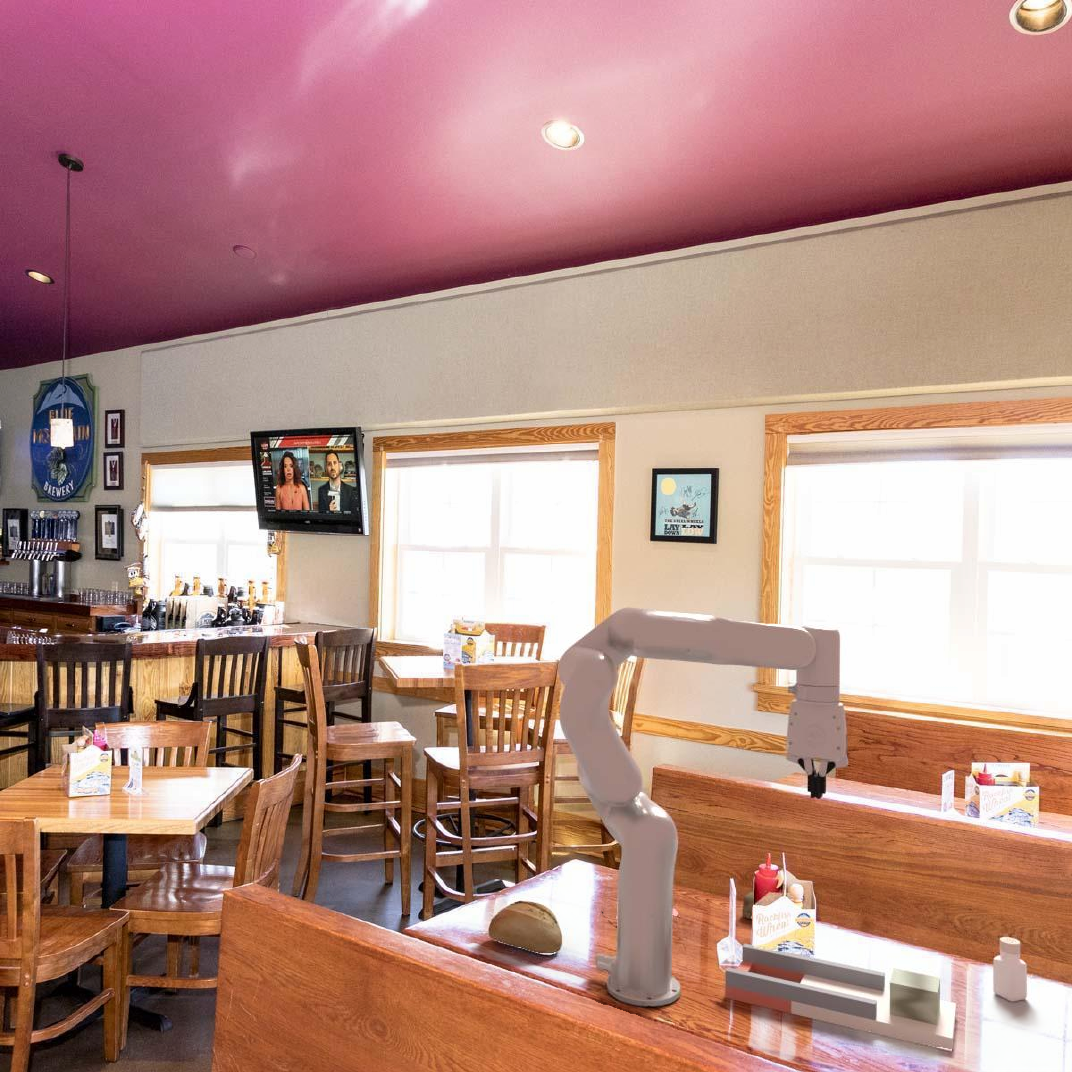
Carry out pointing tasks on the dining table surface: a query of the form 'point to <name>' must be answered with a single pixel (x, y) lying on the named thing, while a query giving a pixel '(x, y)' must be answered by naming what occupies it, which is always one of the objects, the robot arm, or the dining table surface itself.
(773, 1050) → the dining table surface
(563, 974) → the dining table surface
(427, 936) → the dining table surface
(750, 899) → the stone block
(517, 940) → the bread roll
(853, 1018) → the track
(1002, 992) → the salt shaker
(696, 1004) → the dining table surface
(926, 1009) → the sage block
